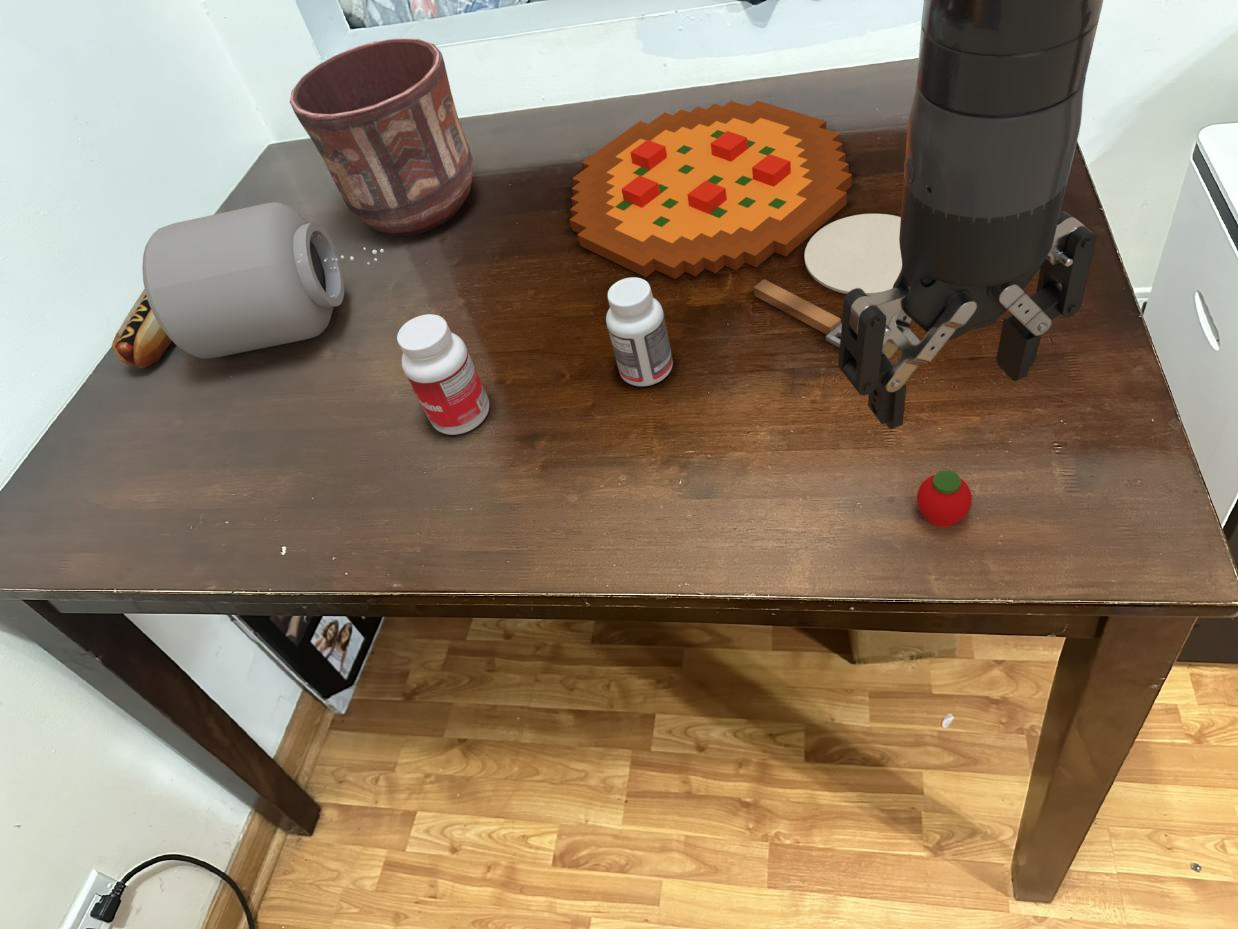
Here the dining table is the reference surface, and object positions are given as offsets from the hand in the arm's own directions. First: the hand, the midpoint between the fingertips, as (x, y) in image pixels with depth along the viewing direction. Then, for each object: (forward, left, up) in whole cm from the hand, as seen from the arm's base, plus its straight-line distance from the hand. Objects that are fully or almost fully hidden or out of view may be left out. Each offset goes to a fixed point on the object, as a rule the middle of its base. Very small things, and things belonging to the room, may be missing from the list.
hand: (950, 394), depth 54 cm
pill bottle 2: (+1, -32, -17) cm, 36 cm away
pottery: (0, -77, -17) cm, 79 cm away
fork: (-14, -23, -17) cm, 32 cm away
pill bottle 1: (+17, -42, -17) cm, 48 cm away
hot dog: (+34, -82, -17) cm, 90 cm away
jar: (+20, -70, -17) cm, 75 cm away
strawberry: (-3, -1, -17) cm, 17 cm away
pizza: (-24, -49, -17) cm, 57 cm away
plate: (-25, -26, -17) cm, 40 cm away
